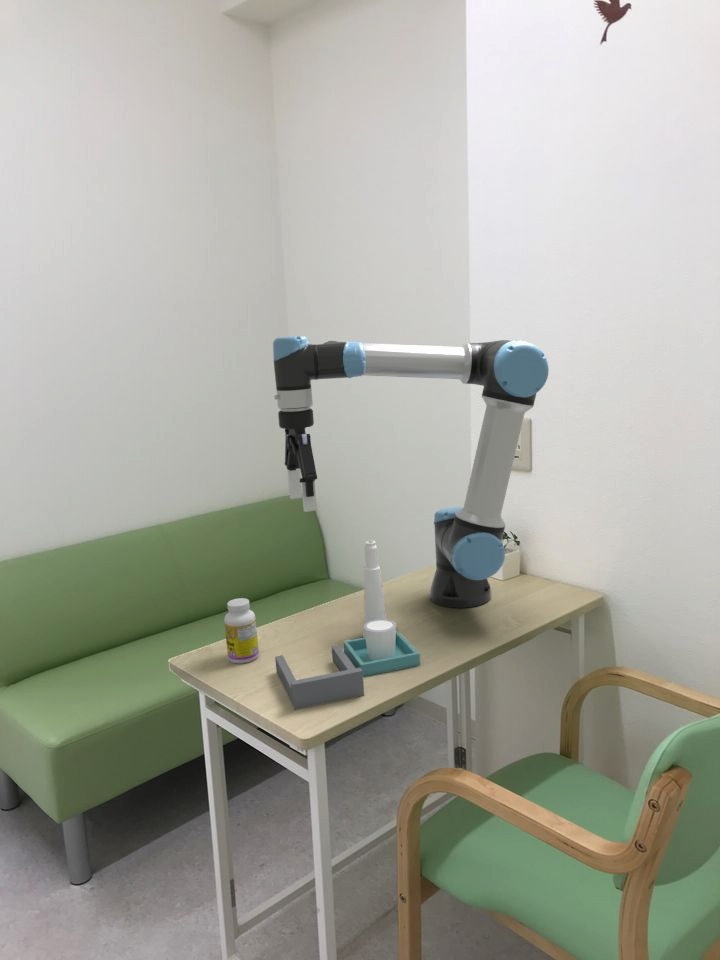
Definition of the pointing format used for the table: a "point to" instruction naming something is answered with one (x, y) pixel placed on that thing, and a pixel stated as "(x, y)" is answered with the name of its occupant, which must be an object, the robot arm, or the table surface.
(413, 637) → the table surface
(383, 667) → the tray
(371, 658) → the shot glass
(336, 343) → the robot arm
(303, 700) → the bay
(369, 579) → the cosmetic bottle
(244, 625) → the supplement bottle
